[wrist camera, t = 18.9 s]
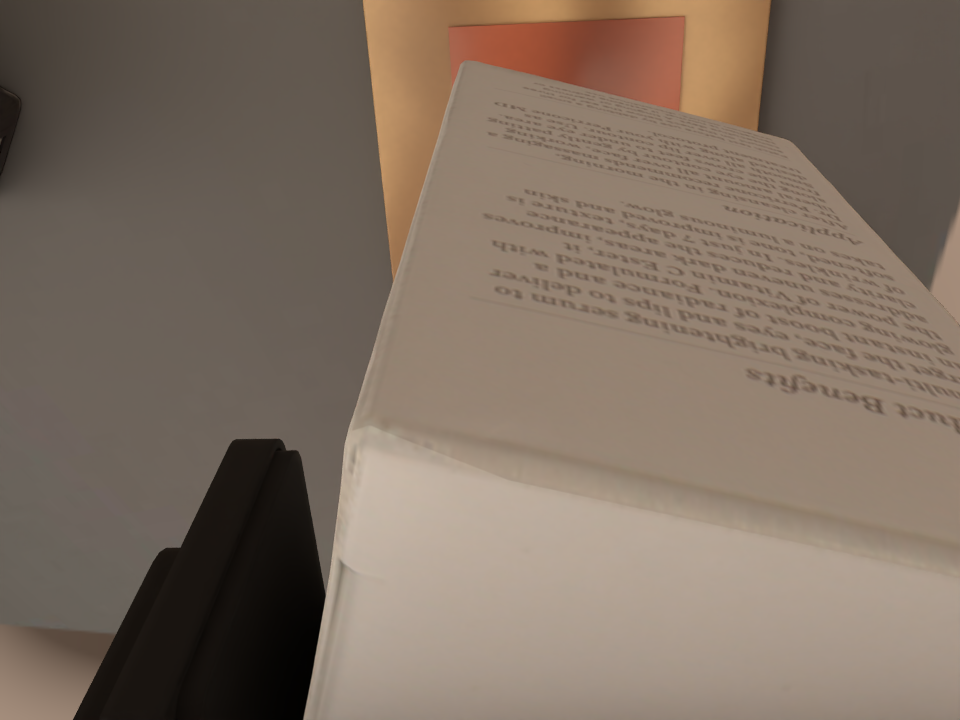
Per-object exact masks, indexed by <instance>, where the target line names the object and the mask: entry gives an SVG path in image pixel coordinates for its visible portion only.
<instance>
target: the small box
mask: <svg viewBox="0 0 960 720" xmlns="http://www.w3.org/2000/svg"><path fill="white" fill-rule="evenodd" d="M303 720H960V325H959V324H958V323H957V322H956V321H955V319H954V318H953V317H952V316H951V315H950V313H949V312H948V311H947V310H946V309H945V308H944V306H943V305H942V304H941V303H940V302H939V301H938V300H937V299H936V298H935V297H934V296H933V295H932V294H931V293H930V292H929V291H928V289H927V288H926V287H925V286H924V285H923V284H922V283H921V282H920V280H919V279H918V278H917V277H916V276H915V275H914V274H913V273H912V272H911V271H910V270H909V269H908V268H907V266H906V265H905V264H904V263H903V262H902V261H901V260H900V259H899V258H898V257H897V256H896V255H895V254H894V253H893V252H892V250H891V249H890V248H889V247H888V246H887V245H886V244H885V243H884V241H883V240H882V239H881V238H880V237H879V236H878V235H877V234H876V233H875V232H874V231H873V229H872V228H871V227H870V226H869V225H868V224H867V223H866V222H865V221H864V220H863V219H862V218H861V217H860V215H859V214H858V213H857V212H856V211H855V210H854V209H853V208H852V207H851V206H850V205H849V204H848V203H847V201H846V200H845V199H844V198H843V197H842V196H841V195H840V193H839V192H838V191H837V190H836V189H835V188H834V186H833V185H832V184H831V183H830V182H829V181H828V180H827V179H826V178H825V177H824V176H823V175H822V174H821V173H820V172H819V171H818V170H817V169H816V167H815V166H814V165H813V164H812V163H811V162H810V161H809V160H808V159H807V158H806V157H805V156H804V154H803V153H802V152H801V151H800V150H799V149H798V148H797V147H796V146H795V145H794V144H793V143H792V142H791V141H789V140H786V139H783V138H780V137H776V136H772V135H768V134H764V133H760V132H757V131H753V130H749V129H746V128H742V127H738V126H735V125H731V124H727V123H723V122H720V121H716V120H712V119H708V118H704V117H700V116H696V115H692V114H688V113H684V112H681V111H676V110H672V109H668V108H664V107H660V106H656V105H652V104H648V103H644V102H640V101H636V100H632V99H628V98H624V97H620V96H616V95H612V94H608V93H604V92H600V91H596V90H592V89H588V88H584V87H580V86H576V85H572V84H568V83H564V82H560V81H556V80H552V79H548V78H544V77H540V76H536V75H532V74H528V73H524V72H519V71H515V70H510V69H506V68H502V67H497V66H493V65H489V64H485V63H481V62H477V61H470V60H467V61H464V62H463V63H461V64H460V67H459V70H458V73H457V76H456V79H455V82H454V85H453V88H452V91H451V95H450V98H449V101H448V105H447V108H446V111H445V115H444V118H443V122H442V125H441V129H440V132H439V136H438V139H437V143H436V146H435V149H434V152H433V156H432V159H431V162H430V165H429V169H428V172H427V175H426V179H425V182H424V185H423V188H422V191H421V195H420V198H419V201H418V204H417V208H416V211H415V214H414V217H413V220H412V224H411V227H410V230H409V234H408V237H407V240H406V244H405V247H404V250H403V254H402V257H401V261H400V264H399V267H398V270H397V273H396V276H395V279H394V282H393V286H392V289H391V292H390V295H389V298H388V301H387V304H386V307H385V310H384V314H383V317H382V321H381V324H380V328H379V332H378V335H377V339H376V342H375V346H374V349H373V353H372V356H371V359H370V362H369V365H368V369H367V372H366V375H365V378H364V382H363V385H362V388H361V392H360V395H359V398H358V402H357V405H356V408H355V411H354V414H353V417H352V420H351V423H350V426H349V430H348V434H347V438H346V442H345V447H344V458H343V469H342V480H341V490H340V498H339V506H338V514H337V522H336V530H335V538H334V545H333V553H332V561H331V569H330V576H329V581H328V587H327V593H326V598H325V604H324V610H323V616H322V621H321V627H320V633H319V638H318V644H317V650H316V656H315V661H314V667H313V673H312V678H311V683H310V688H309V693H308V698H307V703H306V708H305V713H304V718H303Z"/></svg>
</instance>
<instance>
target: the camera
mask: <svg viewBox="0 0 960 720" xmlns="http://www.w3.org/2000/svg"><path fill="white" fill-rule="evenodd" d="M19 111H20V100H19V99H18V98H17V97H16V96H15V95H14V94H12V93H10V92H8V91H6V90H4V89H2V88H0V174H1V171H2V168H3V165H4V162H5V158H6V155H7V152H8V149H9V145H10V142H11V139H12V136H13V132H14V129H15V126H16V123H17V119H18V115H19Z"/></svg>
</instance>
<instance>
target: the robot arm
mask: <svg viewBox="0 0 960 720" xmlns="http://www.w3.org/2000/svg"><path fill="white" fill-rule="evenodd" d="M325 598H326V595H325V590H324V584H323V578H322V573H321V567H320V562H319V556H318V550H317V545H316V539H315V534H314V528H313V522H312V517H311V511H310V505H309V500H308V494H307V489H306V483H305V477H304V472H303V466H302V461H301V457H300V454H299V452H298V451H296V450H291V451H286V448H285V445H284V443H283V441H282V440H280V439H236V440H234V441H232V443H231V444H230V446H229V448H228V450H227V452H226V454H225V456H224V458H223V460H222V462H221V464H220V466H219V469H218V471H217V473H216V475H215V477H214V479H213V481H212V483H211V485H210V487H209V489H208V491H207V494H206V496H205V498H204V500H203V502H202V504H201V506H200V508H199V510H198V512H197V514H196V517H195V519H194V521H193V523H192V525H191V527H190V529H189V531H188V533H187V535H186V537H185V539H184V542H183V544H182V546H181V548H165V549H164V550H162V551H161V552H159V554H158V555H157V557H156V558H155V560H154V561H153V563H152V565H151V567H150V569H149V571H148V573H147V575H146V577H145V579H144V581H143V583H142V585H141V587H140V589H139V591H138V592H137V594H136V596H135V598H134V600H133V602H132V604H131V606H130V608H129V610H128V612H127V614H126V616H125V618H124V620H123V622H122V624H121V626H120V628H119V630H118V632H117V634H116V636H115V638H114V640H113V642H112V644H111V646H110V648H109V650H108V652H107V654H106V656H105V658H104V660H103V661H102V663H101V666H100V667H99V669H98V671H97V673H96V676H95V677H94V679H93V681H92V683H91V685H90V687H89V689H88V691H87V693H86V695H85V697H84V699H83V701H82V703H81V705H80V707H79V709H78V711H77V713H76V715H75V717H74V719H73V720H303V718H304V713H305V708H306V703H307V698H308V693H309V688H310V683H311V678H312V673H313V667H314V661H315V656H316V650H317V644H318V638H319V633H320V627H321V621H322V616H323V610H324V604H325Z"/></svg>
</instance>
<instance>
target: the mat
mask: <svg viewBox="0 0 960 720" xmlns="http://www.w3.org/2000/svg"><path fill="white" fill-rule="evenodd" d="M363 7H364V16H365V25H366V35H367V44H368V53H369V62H370V72H371V81H372V90H373V100H374V109H375V118H376V128H377V137H378V146H379V155H380V165H381V174H382V183H383V193H384V202H385V211H386V220H387V230H388V239H389V248H390V258H391V267H392V276H393V282H394V279H395V276H396V273H397V270H398V267H399V264H400V261H401V257H402V254H403V250H404V247H405V244H406V240H407V237H408V234H409V230H410V227H411V224H412V220H413V217H414V214H415V211H416V208H417V204H418V201H419V198H420V195H421V191H422V188H423V185H424V182H425V179H426V175H427V172H428V169H429V165H430V162H431V159H432V156H433V152H434V149H435V146H436V143H437V139H438V136H439V132H440V129H441V125H442V122H443V118H444V115H445V111H446V108H447V105H448V101H449V98H450V95H451V91H452V88H453V85H454V82H455V79H456V76H457V73H458V70H459V67H460V64H461V63H463V62H464V61H467V60H470V61H477V62H481V63H485V64H489V65H493V66H497V67H502V68H506V69H510V70H515V71H519V72H524V73H528V74H532V75H536V76H540V77H544V78H548V79H552V80H556V81H560V82H564V83H568V84H572V85H576V86H580V87H584V88H588V89H592V90H596V91H600V92H604V93H608V94H612V95H616V96H620V97H624V98H628V99H632V100H636V101H640V102H644V103H648V104H652V105H656V106H660V107H664V108H668V109H672V110H676V111H681V112H684V113H688V114H692V115H696V116H700V117H704V118H708V119H712V120H716V121H720V122H723V123H727V124H731V125H735V126H738V127H742V128H746V129H749V130H753V131H757V130H758V120H759V111H760V102H761V92H762V83H763V73H764V64H765V54H766V45H767V35H768V26H769V16H770V7H771V0H363Z"/></svg>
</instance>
